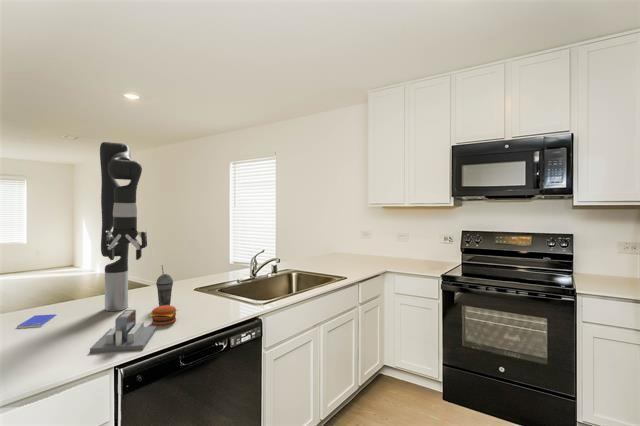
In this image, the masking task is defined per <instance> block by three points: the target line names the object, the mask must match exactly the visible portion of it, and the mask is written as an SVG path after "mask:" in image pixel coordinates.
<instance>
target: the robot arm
mask: <svg viewBox="0 0 640 426" xmlns="http://www.w3.org/2000/svg"><path fill="white" fill-rule="evenodd" d="M131 154H132V153H131V150H130V147H129V146H128V145H127V144H126V143H121V142H109V141H107V142H106V141H102V142H101V143H100V146H99V158H100V159H99V161H100V162H99V163H100V174H101V175H100V176H101V186H100V187H101V194H100V195H101V196H100V201H101V202H100V205H101V207H100V209H101V236H100V238H101V239H100V253H101V256H102V257H105V258H108V259H109V260H110V261H114V260H115V257H119V259H117V260H115V261H114V262H112V263H108V264H106V265H105V266H104V311H105V312H106V311H107V312H116V311H117V312H119V311H122V310H127V308H128V307H129V246H130V245H129V244H131V245H132V246H133V247H135V249H136V250H135V261H138V260H140V259H141V258H142V253H143V252H142V249H145V248H146V247H148V239H147V237H148V235H147V231H146V230H144V231H138V217H137V216H138V208H137V190H138V186H139V182H140V178H141V176H142V172H143V167H142V165H141V163H140V162H139V161H137V160H132V155H131ZM117 180H124V181H125V180H126V181H128V180H129V181H130V182H129V183H128V184H126V185H120V184H119V182H118V181H117ZM138 236H139V238H140V239H141V243H139V241H138V239H137V237H138Z"/></svg>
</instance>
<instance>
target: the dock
mask: <svg viewBox="0 0 640 426" xmlns="http://www.w3.org/2000/svg"><path fill="white" fill-rule="evenodd" d="M144 323H145V321H136V325H135V326H134V327H133V328H132V329H131V330H130V332H129V333H128V334H127V342H122V331H116V342H115V326H114V327H113V328H109V330H108V331H107V332H106V333H104V334H103V335H102V336H101V337H100V338H99V339H98V340H97V341H96V342H95V343H94V344H93V345H92V346H91V347H90V348H89V353H90V354H96V353H97V354H98V353H111V352H112V353H113V352H126V351H140V350H142V351H143V350H144V349H145V348H146V346H147V344H148V343H149V342H150V340H151V338H152V337H153V336H154V334H155V333H156V331H157V325H152V326H151V325H150V326H145V325H144Z"/></svg>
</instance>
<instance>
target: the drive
mask: <svg viewBox="0 0 640 426" xmlns="http://www.w3.org/2000/svg"><path fill="white" fill-rule="evenodd" d="M136 318H137V310H136V309H124V311H123V312H122V313H121V314H119V315H118V316H117V317H116V318H115V322H114V323H115V326H114V327H115V342H116V331H122V342H127V334H128V333H129V332H130V330H131V329H132V328H133V327H134V326H135V325H136V324H137V319H136Z"/></svg>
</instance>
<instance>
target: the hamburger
mask: <svg viewBox="0 0 640 426" xmlns="http://www.w3.org/2000/svg"><path fill="white" fill-rule="evenodd" d="M178 311H179V309H177V308H176V307H175V306H173V305H170V306H169V305H163V306H159V305H158V306H157V307H154V308H153V309H152V311H151V314H150V315H149V318H152V320H151V324H152V326H156V327H157V326H159V327H161V326H163V327H164V326H169V325H172V324H174V323H175V322H176V321H177V318H176V316H177V312H178Z"/></svg>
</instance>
